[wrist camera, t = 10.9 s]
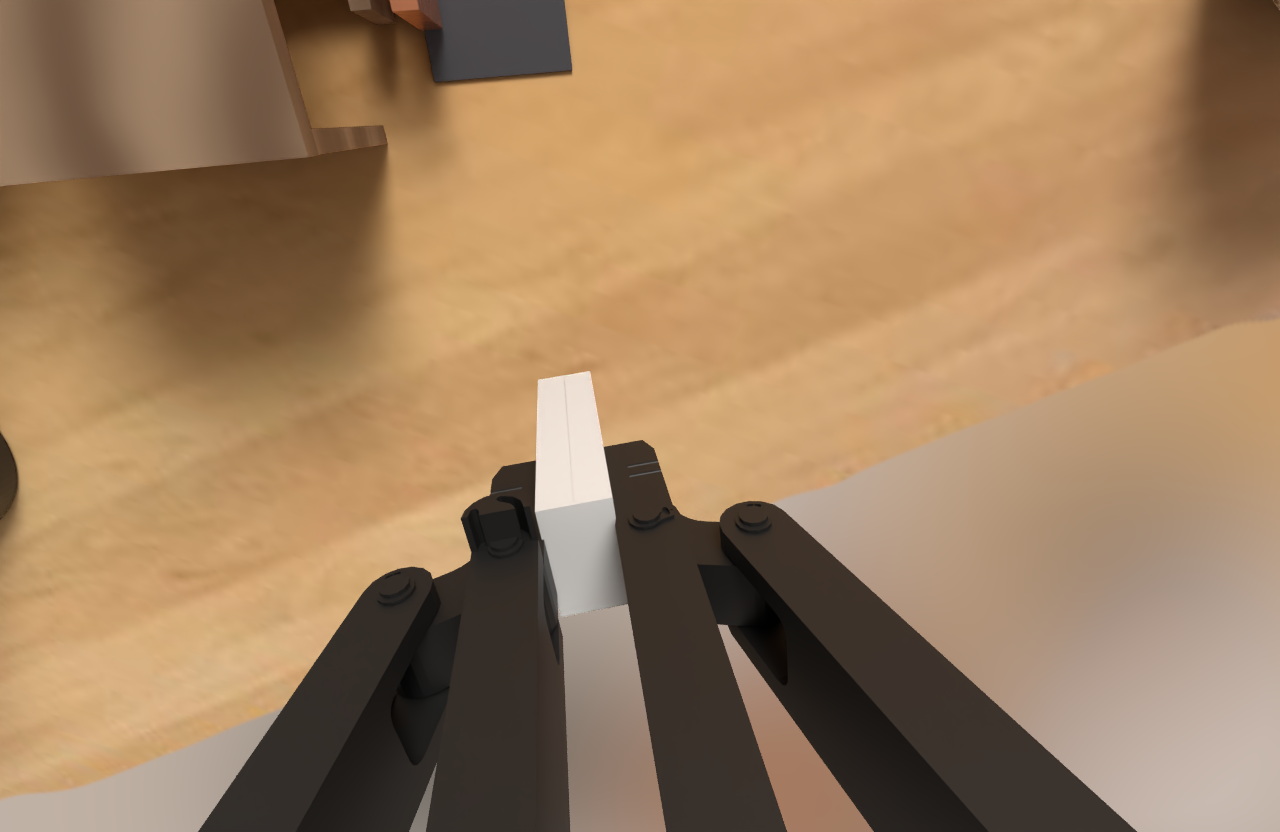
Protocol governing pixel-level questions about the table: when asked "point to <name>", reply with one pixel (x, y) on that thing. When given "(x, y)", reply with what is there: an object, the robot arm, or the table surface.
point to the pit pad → (498, 39)
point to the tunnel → (154, 88)
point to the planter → (1277, 3)
